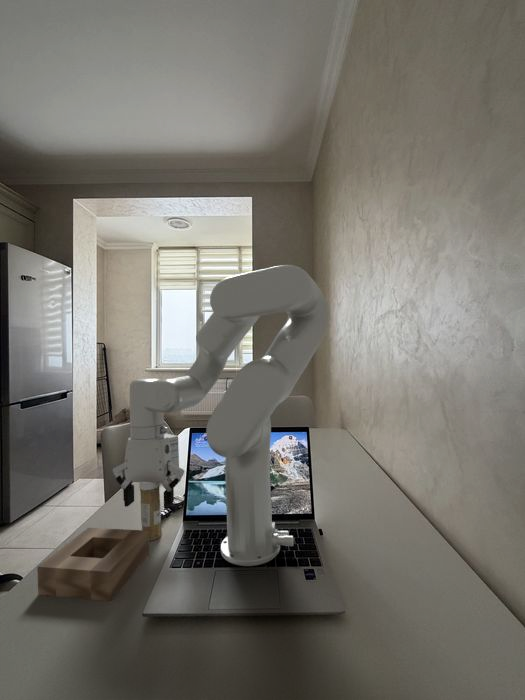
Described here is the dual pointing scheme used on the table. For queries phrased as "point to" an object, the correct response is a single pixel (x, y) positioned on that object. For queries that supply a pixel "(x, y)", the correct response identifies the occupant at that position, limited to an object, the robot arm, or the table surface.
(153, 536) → the sprinkles bottle
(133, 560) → the socket block
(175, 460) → the supplement box
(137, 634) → the table surface
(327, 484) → the table surface
